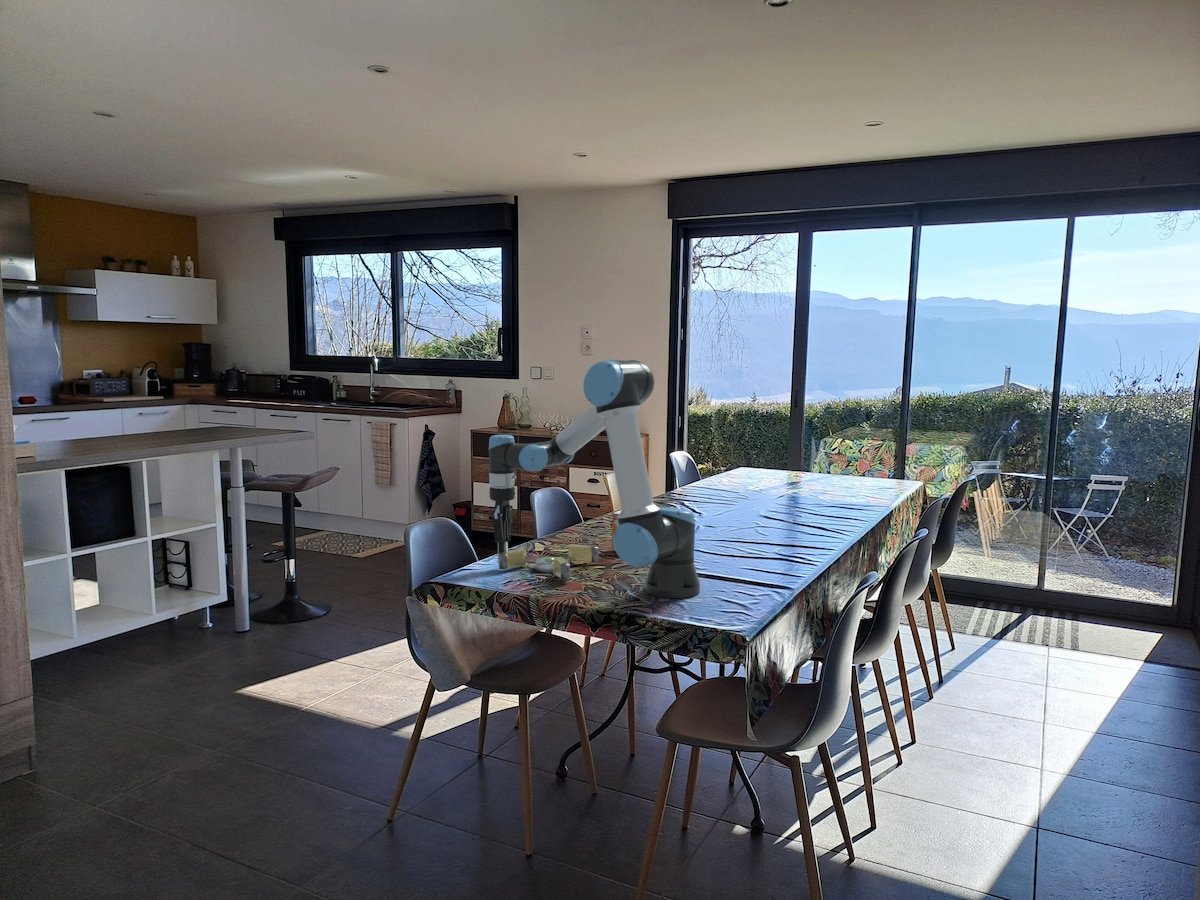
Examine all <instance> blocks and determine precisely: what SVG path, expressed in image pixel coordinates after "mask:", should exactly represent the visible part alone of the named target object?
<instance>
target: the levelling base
mask: <svg viewBox="0 0 1200 900" xmlns="http://www.w3.org/2000/svg"><path fill="white" fill-rule="evenodd" d="M554 557H555V556H545V557H539V558H537V559H536V560H535V563H530V564H529V569H535V571H538V572H540V573H548V574H551V573H552V574H553V575H554Z"/></svg>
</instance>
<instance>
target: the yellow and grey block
mask: <svg viewBox="0 0 1200 900" xmlns="http://www.w3.org/2000/svg"><path fill="white" fill-rule="evenodd" d="M519 566H520V568H527V567H528V563H527V549H525V548H515V549H512V550H508V551H507V552H502V553H499V563H498V569H499V570H507V569H511V568H515V567H519Z"/></svg>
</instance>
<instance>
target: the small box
mask: <svg viewBox="0 0 1200 900" xmlns="http://www.w3.org/2000/svg"><path fill="white" fill-rule="evenodd" d="M620 512H621V509H620V510H618V511H615V512H612V515H611V523H612V525H611V528H612V530H611V552H616V551H615V548H614V544H613V536H614V534H615V531H616V529H617V528H618V527H619V524H618V518H617V517H618V515H619V514H620Z"/></svg>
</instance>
